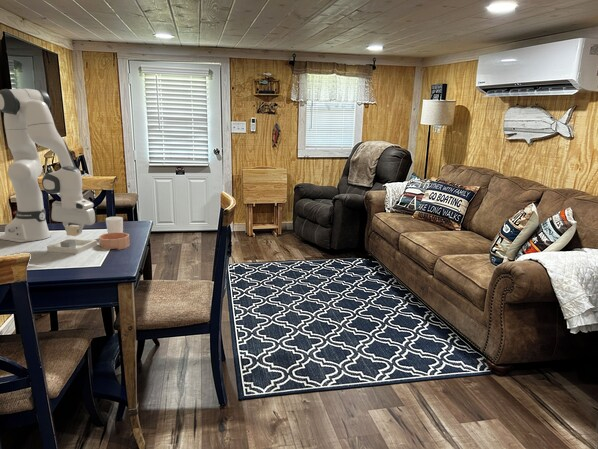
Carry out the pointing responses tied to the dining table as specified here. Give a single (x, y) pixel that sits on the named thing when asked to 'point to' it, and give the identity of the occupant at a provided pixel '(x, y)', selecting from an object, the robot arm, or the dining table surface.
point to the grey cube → (68, 243)
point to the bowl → (114, 240)
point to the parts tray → (80, 247)
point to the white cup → (114, 224)
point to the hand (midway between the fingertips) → (73, 232)
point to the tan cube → (72, 230)
